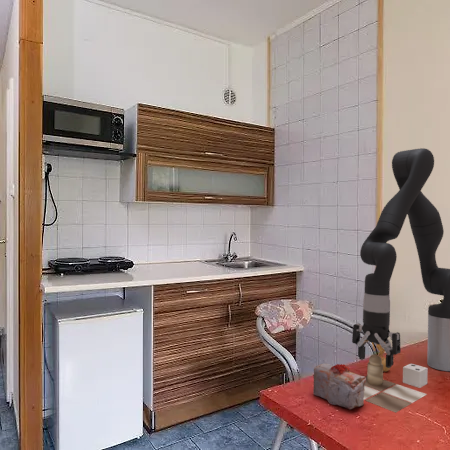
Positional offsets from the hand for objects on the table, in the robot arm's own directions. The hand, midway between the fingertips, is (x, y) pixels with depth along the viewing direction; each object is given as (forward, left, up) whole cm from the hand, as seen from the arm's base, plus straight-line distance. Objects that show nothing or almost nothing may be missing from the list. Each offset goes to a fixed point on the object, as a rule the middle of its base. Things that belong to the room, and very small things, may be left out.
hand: (374, 362), depth 118 cm
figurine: (-12, -4, -6) cm, 14 cm away
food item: (+19, 0, -7) cm, 20 cm away
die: (-10, +8, -6) cm, 14 cm away
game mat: (+4, +5, -6) cm, 9 cm away
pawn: (0, 0, -6) cm, 6 cm away
